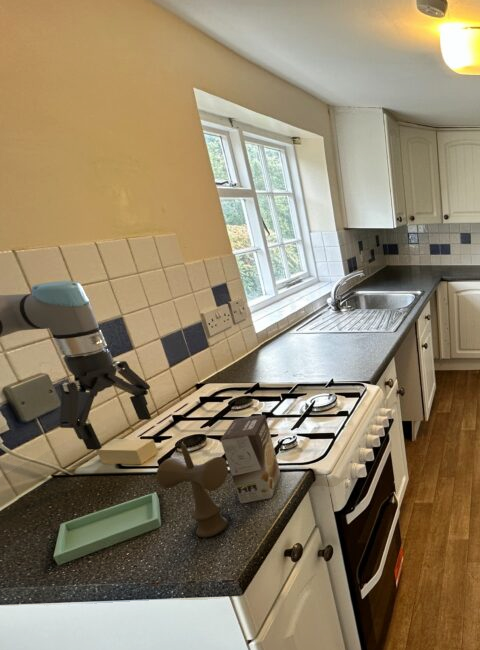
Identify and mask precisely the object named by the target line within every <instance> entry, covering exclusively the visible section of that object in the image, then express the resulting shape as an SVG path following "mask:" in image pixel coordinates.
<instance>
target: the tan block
mask: <svg viewBox="0 0 480 650" xmlns="http://www.w3.org/2000/svg"><path fill="white" fill-rule="evenodd" d="M101 447H102V448H101V449H99V450H95V451H96V453H97V455H98V457H99V459H100V462H101V464H103V465H104V464H107V465H108V464H110V465H111V464H114V465H115V464H116V465H143V464H144V463H145V462H147V461H148V460H150V459H151V458H153V457H154V456H156V455H157V454H159V451H158V448H157V446H156V443H155V440H154V439H153V438H114V439H112V440H110V441H108V442H107V443H105V444H103V445H101Z"/></svg>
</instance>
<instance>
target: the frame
mask: <svg viewBox="0 0 480 650" xmlns="http://www.w3.org/2000/svg"><path fill="white" fill-rule="evenodd" d="M160 508H161V507H160V499H159V497H158V494H157V492H156V491H154V492H152V493H149V494H146V495H141V496H140V497H137V498H134V499H130V500H127V501H125V502H122V503H119V504H116V505H113V506H109V507H106V508H104V509H102V510H101V509H100V510H97V511H94V512H92V513H89V514H86V515H83V516H80V517H77V518H74V519H71V520H68V521H65V522H63V523H60V526H59V530H58V535H57V538H56V544H55V549H54V552H53V559H54V561H55V562H56V564H57V566H61V565H63V564H66V563H69V562H71V561H74V560H77V559H79V558H82V557H85V556H86V555H90V554H92V553H95V552H97V551H100V550H103V549H106V548H108V547H111V546H114V545H116V544H119V543H121V542H125V541H127V540H129V539H132V538H135V537H137V536H140V535H143V534H145V533H148V532H152V531H154V530H156V529H158V528H161V527H162V520H161V509H160Z"/></svg>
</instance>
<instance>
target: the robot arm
mask: <svg viewBox="0 0 480 650" xmlns="http://www.w3.org/2000/svg"><path fill="white" fill-rule="evenodd" d="M30 290H31V293H23V294H0V338H2V337H5V336H8V335H11V334H14V333H17V332H22V331H30V330H31V331H32V330H47V329H49V332H50V333H51V336H52V337H53V340H54V343H55V345H56V346H57V349H58V351H59V353H60V355H62V356H63V358H62V359H63V361H64V363H65V366H66V367H67V370H68V371H69V372H70V373H71V374H72V376H73V380H71V381H68V382H64V381H63V382H60V383H59V389H60V392H61V398H60V399H61V400H60V401H61V402H60V413H59V428H61V429H73V431H74V433H75V435H76V437H77V438H78V439H79V440H82V442H83V444H84V445H85V448H86V450H89V451H90V450H94V451H96V450H99V449H101V448H102V444H101V442H100V440H99V438H98V436H97V433H96V432H95V429H94V427H93V426H92V423H91V422H87V421H88V418H89V414H90V412H91V409H92V406H93V403H94V399H95V398H96V397H97V396H98V394H99V393H100V392H103V391H104V390H106V389H107V388H108V389H109V388H111V387H115V388H117V389H119V390H122V391H124V392H126V393H128V394H130V395H131V396H129V399H130V401H131V404H132V406H133V409H134V411H135V414H136V416H137V418H138V419H137V420H140V421H141V420H142V421H149V420H151V419H152V416H151V413H150V411H149V408H148V403H149V402H148V401H147V398H146V396H147V395H148V393H149V391H148V390H150V389H151V386H150V384H148V383H147V382H146V381H145V380H144V379H142V378H141V376H140V375H138V374H137V373H136V372H135V371H134V370H132V369H131V368H130V365H129V363H128V362H127V361H126V360H114V358H113V356H112V353H111V351H110V349H109V348H107V346H108V344H107V341H106V339H105V336H104V334H103V331H102V329H101V327H100V325H99V323H98V321H97V318H96V315H95V314H94V311H93V308H92V305H91V301H90V298H88V296H87V294H86V292H85V290H84V288H83V286H82V285H81V284H80V283H79V282H77V281H75V280H60V281H49V282H42V283H38V284H34V285H32V286H31V287H30ZM117 373H118V374H119V375H120V376H122V378H121V377H119V376H118V375H116V374H117ZM123 378H124V379H125V380H126V381H125V380H124V379H123Z"/></svg>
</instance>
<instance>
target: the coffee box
mask: <svg viewBox="0 0 480 650" xmlns="http://www.w3.org/2000/svg"><path fill="white" fill-rule="evenodd" d="M219 440H220V442H221V445H222V448H223V452H224V455H225V458H226V459H225V460H226V463H227V466H228V469H229V472H230V475H231V478H232V481H233V485H234V488H235V490H236V494H237V496H238V500H239V503H240V504H246V503H252V502H258V501H262V500H268V499H272V498H273V495H274V493H275V491H276V487H277V485H278V482H279V479H280V476H281V471H280V466H279V463H278V458H277V454H276V450H275V446H274V443H273V440H272V435H271V432H270V427H269V424H268V420H267V415H266V414H259V415H252V416H251V415H250V416H247V417H246V416H245V417H242V418H241V417H240V418H234V419H233V421H232V422H231V424H229V426H228V427H227V429H226V431H225V432H224V434H222V436H221V437H220V439H219Z"/></svg>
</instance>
